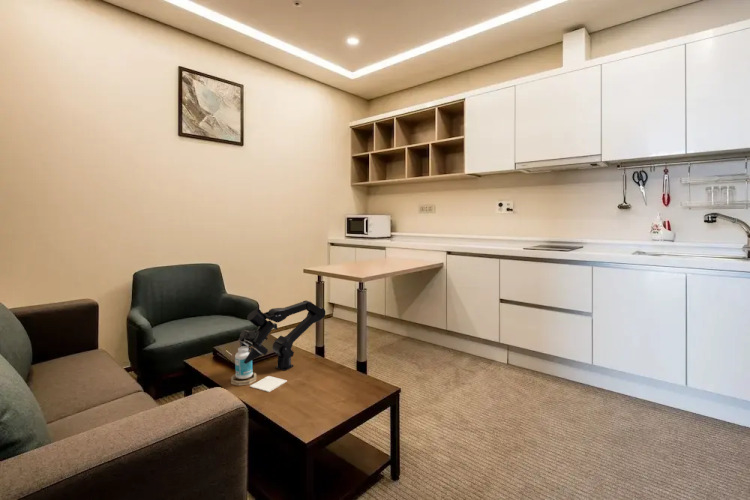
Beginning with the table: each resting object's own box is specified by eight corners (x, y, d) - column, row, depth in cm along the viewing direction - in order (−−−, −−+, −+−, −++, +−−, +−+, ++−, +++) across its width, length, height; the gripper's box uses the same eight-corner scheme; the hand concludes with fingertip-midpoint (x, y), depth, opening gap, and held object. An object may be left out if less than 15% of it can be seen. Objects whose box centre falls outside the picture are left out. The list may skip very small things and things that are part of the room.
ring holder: (244, 373, 178) (244, 370, 178) (261, 377, 174) (261, 374, 173) (225, 382, 168) (225, 378, 168) (243, 387, 164) (243, 383, 164)
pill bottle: (255, 373, 174) (254, 345, 173) (248, 380, 167) (247, 350, 166) (240, 372, 175) (239, 344, 174) (232, 379, 168) (231, 350, 166)
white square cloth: (268, 376, 175) (268, 375, 175) (287, 381, 170) (287, 380, 170) (249, 386, 164) (249, 385, 164) (269, 392, 159) (268, 391, 159)
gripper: (241, 318, 178) (219, 346, 171) (261, 327, 165) (237, 357, 158) (257, 331, 184) (236, 358, 178) (277, 340, 171) (255, 370, 164)
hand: (240, 360), depth 169 cm, fingers closed on pill bottle, 7 cm apart
